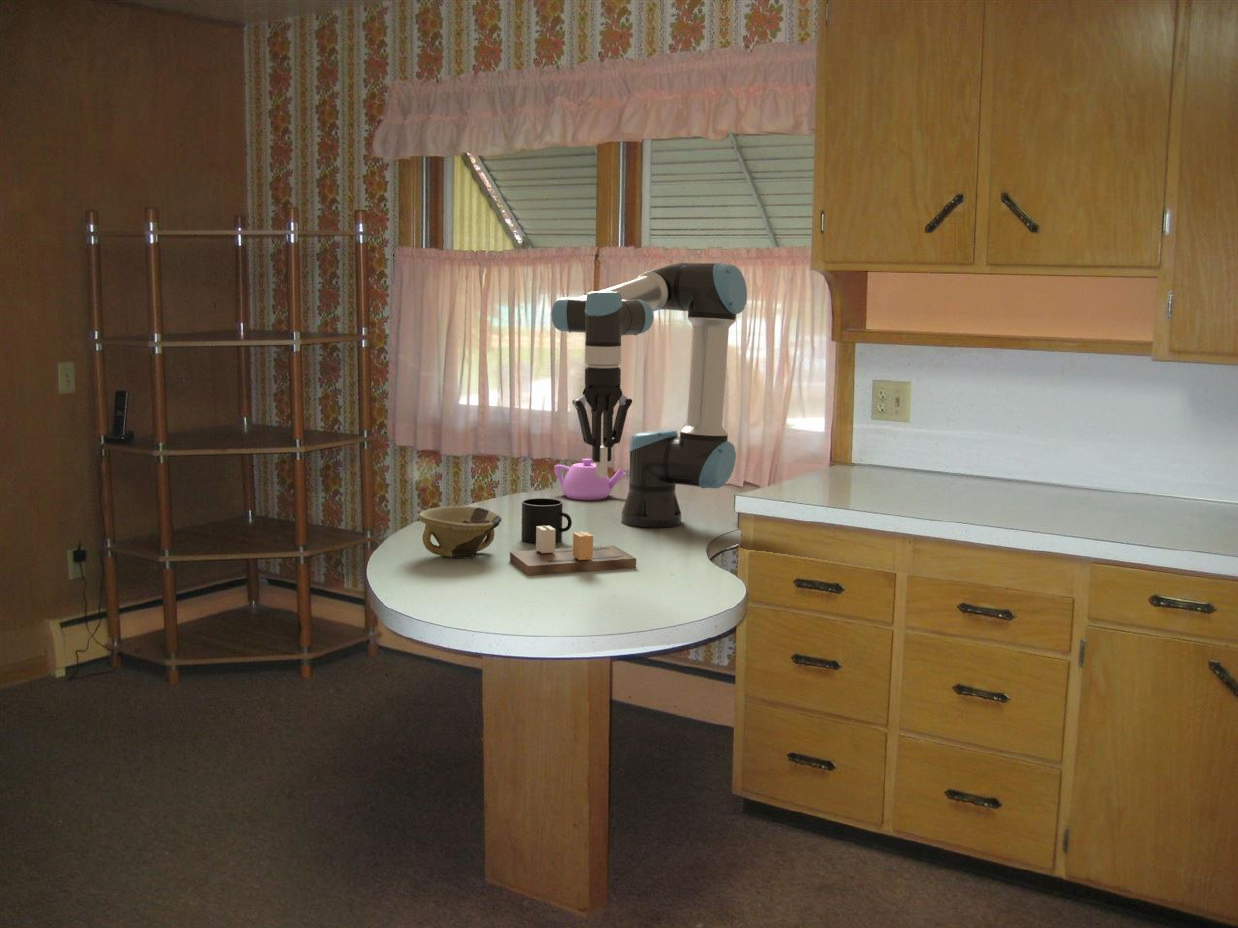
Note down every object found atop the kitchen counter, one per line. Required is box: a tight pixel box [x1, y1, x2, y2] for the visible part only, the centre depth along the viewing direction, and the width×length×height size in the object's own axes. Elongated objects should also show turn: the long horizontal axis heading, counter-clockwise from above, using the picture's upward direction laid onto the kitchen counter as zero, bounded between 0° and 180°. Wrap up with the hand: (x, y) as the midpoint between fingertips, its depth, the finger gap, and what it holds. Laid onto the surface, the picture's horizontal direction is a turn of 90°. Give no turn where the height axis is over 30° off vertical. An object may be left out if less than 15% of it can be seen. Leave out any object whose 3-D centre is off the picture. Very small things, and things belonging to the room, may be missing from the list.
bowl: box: [418, 505, 502, 559], centre depth 263 cm, size 18×18×10 cm
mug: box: [520, 497, 573, 545], centre depth 280 cm, size 9×12×9 cm
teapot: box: [553, 458, 626, 501], centre depth 336 cm, size 14×20×11 cm
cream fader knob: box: [535, 525, 556, 553], centre depth 259 cm, size 3×4×5 cm
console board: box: [509, 545, 637, 576], centre depth 258 cm, size 24×13×2 cm, turn 112°
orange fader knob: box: [572, 531, 594, 560], centre depth 254 cm, size 3×4×5 cm
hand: (601, 476), depth 256 cm, fingers closed
